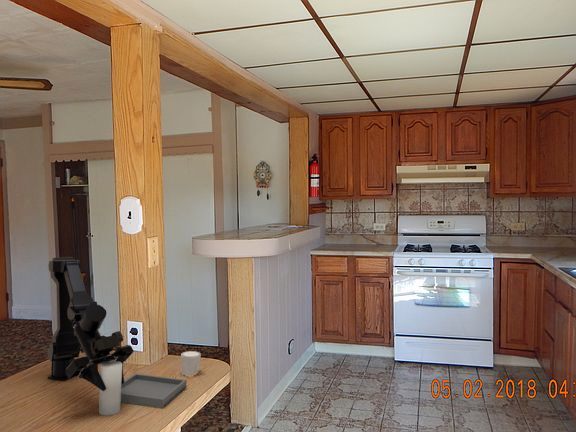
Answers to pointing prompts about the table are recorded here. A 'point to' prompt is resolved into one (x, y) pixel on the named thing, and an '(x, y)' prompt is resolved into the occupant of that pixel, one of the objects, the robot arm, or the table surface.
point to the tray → (151, 390)
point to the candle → (110, 388)
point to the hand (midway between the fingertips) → (113, 386)
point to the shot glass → (190, 362)
